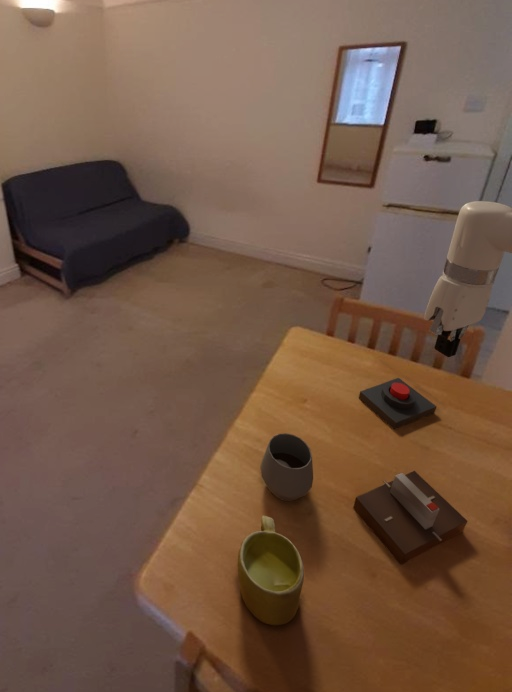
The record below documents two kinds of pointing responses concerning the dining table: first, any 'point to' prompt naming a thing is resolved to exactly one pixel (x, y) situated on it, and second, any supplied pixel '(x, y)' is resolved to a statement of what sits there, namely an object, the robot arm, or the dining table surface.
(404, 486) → the dial knob
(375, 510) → the switch base
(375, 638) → the dining table surface
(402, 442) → the dining table surface
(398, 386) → the timer button
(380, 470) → the dining table surface
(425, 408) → the black button base
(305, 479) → the cup
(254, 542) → the mug
